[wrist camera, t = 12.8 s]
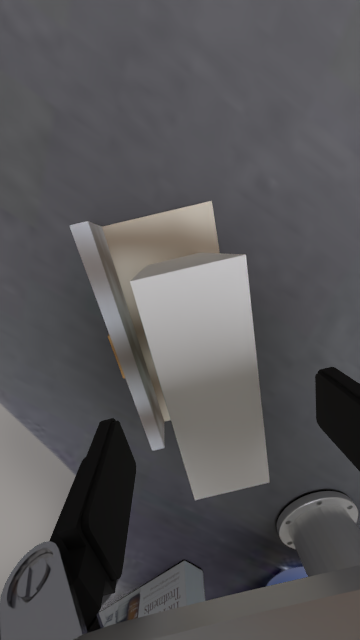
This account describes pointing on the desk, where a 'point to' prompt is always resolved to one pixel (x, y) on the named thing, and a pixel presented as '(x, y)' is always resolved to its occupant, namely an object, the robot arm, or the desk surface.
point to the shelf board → (118, 299)
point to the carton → (207, 366)
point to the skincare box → (159, 595)
